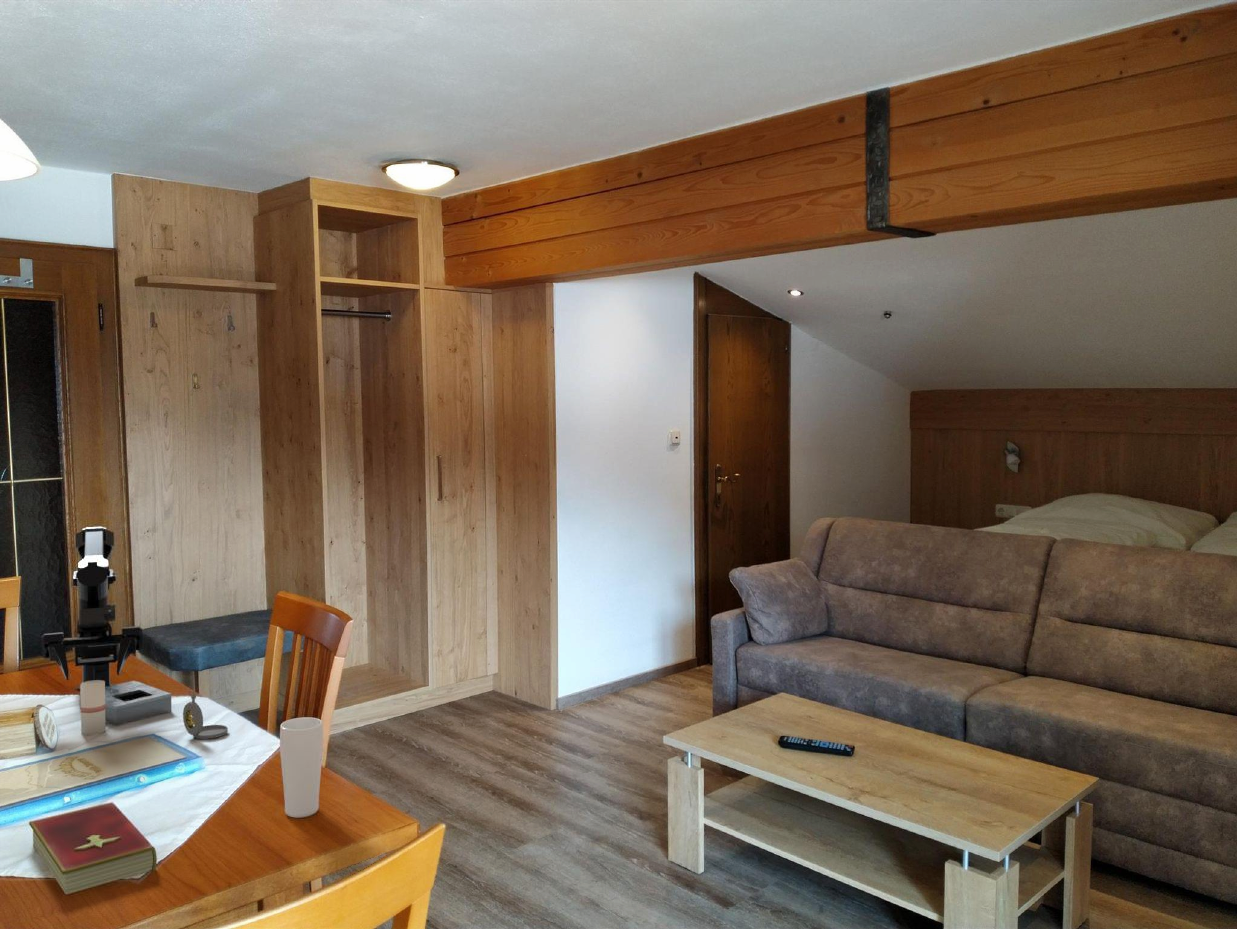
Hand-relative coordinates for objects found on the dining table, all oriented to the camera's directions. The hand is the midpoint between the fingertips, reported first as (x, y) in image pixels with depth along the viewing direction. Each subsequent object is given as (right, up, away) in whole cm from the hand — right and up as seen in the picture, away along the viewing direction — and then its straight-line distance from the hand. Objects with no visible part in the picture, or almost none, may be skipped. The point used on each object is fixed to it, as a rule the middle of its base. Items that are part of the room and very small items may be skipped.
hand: (92, 676), depth 200 cm
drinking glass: (+56, -14, -40) cm, 71 cm away
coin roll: (+1, -11, -2) cm, 11 cm away
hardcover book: (+31, -15, -57) cm, 66 cm away
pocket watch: (+25, -11, -4) cm, 27 cm away
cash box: (+1, -10, +11) cm, 15 cm away
